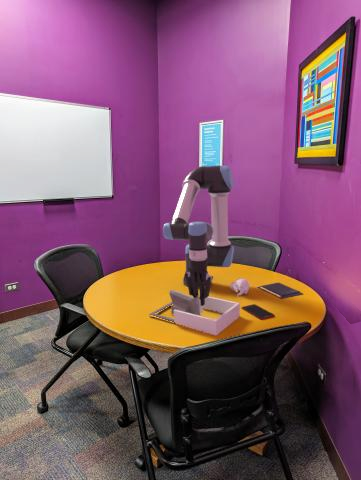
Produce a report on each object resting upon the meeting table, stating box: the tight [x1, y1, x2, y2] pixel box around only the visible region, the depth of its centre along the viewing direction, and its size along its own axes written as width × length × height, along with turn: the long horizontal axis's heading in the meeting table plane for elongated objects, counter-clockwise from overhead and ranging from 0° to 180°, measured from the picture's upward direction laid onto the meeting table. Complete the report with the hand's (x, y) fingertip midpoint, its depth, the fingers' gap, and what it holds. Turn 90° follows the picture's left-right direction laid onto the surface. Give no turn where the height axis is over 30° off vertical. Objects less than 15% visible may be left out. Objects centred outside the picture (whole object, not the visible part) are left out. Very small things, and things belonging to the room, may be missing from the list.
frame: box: [148, 301, 174, 322], centre depth 156 cm, size 13×21×1 cm, turn 145°
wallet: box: [256, 281, 304, 300], centre depth 178 cm, size 20×2×15 cm
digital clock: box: [168, 289, 202, 316], centre depth 151 cm, size 16×9×11 cm, turn 30°
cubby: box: [173, 294, 241, 336], centre depth 146 cm, size 20×21×6 cm
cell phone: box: [241, 303, 276, 321], centre depth 152 cm, size 8×15×1 cm, turn 25°
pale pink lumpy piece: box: [230, 277, 251, 297], centre depth 176 cm, size 6×8×12 cm
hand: (199, 311), depth 148 cm, fingers closed
